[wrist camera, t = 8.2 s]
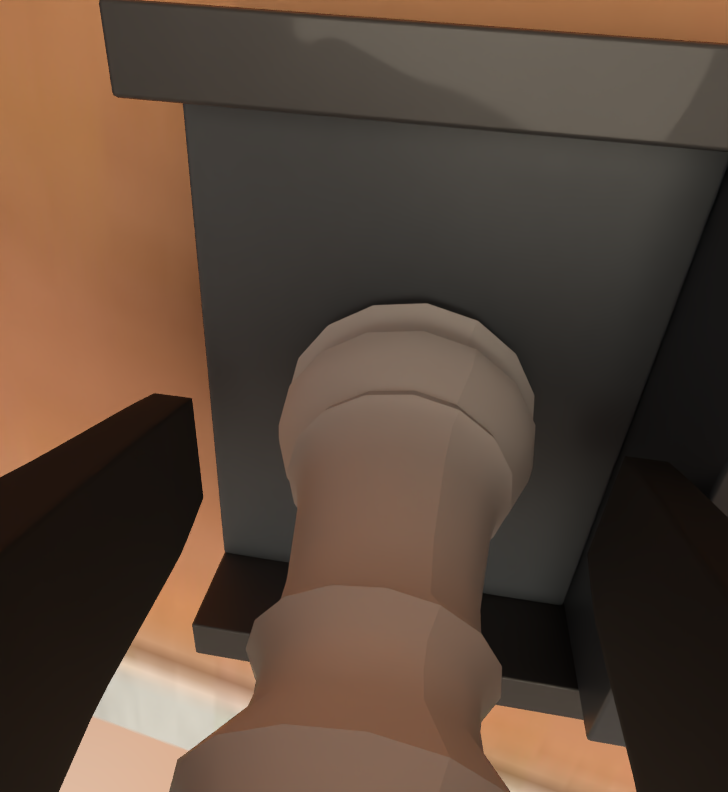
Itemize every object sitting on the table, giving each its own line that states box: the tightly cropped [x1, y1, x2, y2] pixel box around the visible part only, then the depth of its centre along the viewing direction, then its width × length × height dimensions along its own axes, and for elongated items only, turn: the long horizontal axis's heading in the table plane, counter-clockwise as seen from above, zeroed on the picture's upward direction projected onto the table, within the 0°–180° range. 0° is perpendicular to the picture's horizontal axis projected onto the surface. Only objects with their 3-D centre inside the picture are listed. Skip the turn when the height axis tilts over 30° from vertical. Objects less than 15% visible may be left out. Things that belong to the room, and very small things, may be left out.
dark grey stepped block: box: [99, 0, 728, 747], centre depth 11 cm, size 14×12×6 cm
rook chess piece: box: [169, 303, 535, 792], centre depth 8 cm, size 4×4×8 cm
